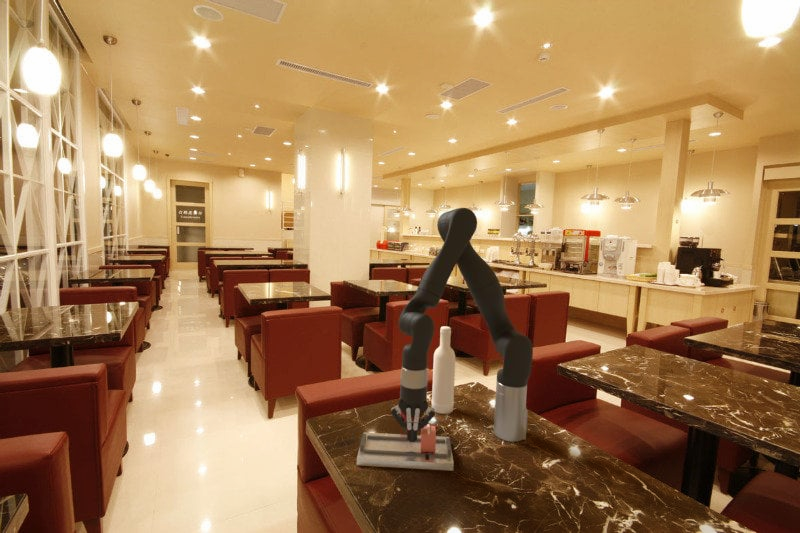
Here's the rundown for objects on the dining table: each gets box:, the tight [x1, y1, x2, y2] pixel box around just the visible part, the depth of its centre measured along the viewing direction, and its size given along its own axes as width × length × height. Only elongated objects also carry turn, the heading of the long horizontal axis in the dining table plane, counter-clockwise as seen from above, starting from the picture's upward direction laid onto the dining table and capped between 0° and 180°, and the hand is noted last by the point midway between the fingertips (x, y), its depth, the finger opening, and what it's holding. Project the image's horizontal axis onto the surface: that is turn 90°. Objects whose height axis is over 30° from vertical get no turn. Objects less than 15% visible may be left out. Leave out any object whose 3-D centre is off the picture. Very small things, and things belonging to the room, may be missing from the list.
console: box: [356, 432, 455, 472], centre depth 106 cm, size 26×13×4 cm, turn 88°
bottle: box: [431, 325, 456, 415], centre depth 133 cm, size 8×8×30 cm
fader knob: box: [420, 423, 437, 452], centre depth 105 cm, size 4×5×6 cm
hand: (411, 440), depth 106 cm, fingers closed
